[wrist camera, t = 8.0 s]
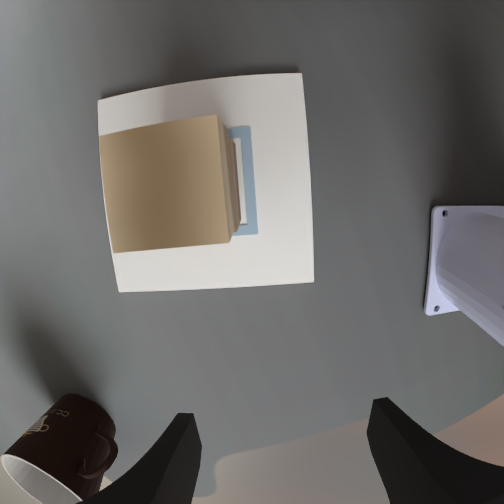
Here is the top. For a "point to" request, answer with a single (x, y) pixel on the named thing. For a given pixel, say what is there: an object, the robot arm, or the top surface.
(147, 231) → the maple block
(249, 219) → the board
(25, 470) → the coffee mug
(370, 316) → the top surface
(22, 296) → the top surface
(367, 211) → the top surface
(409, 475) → the robot arm
